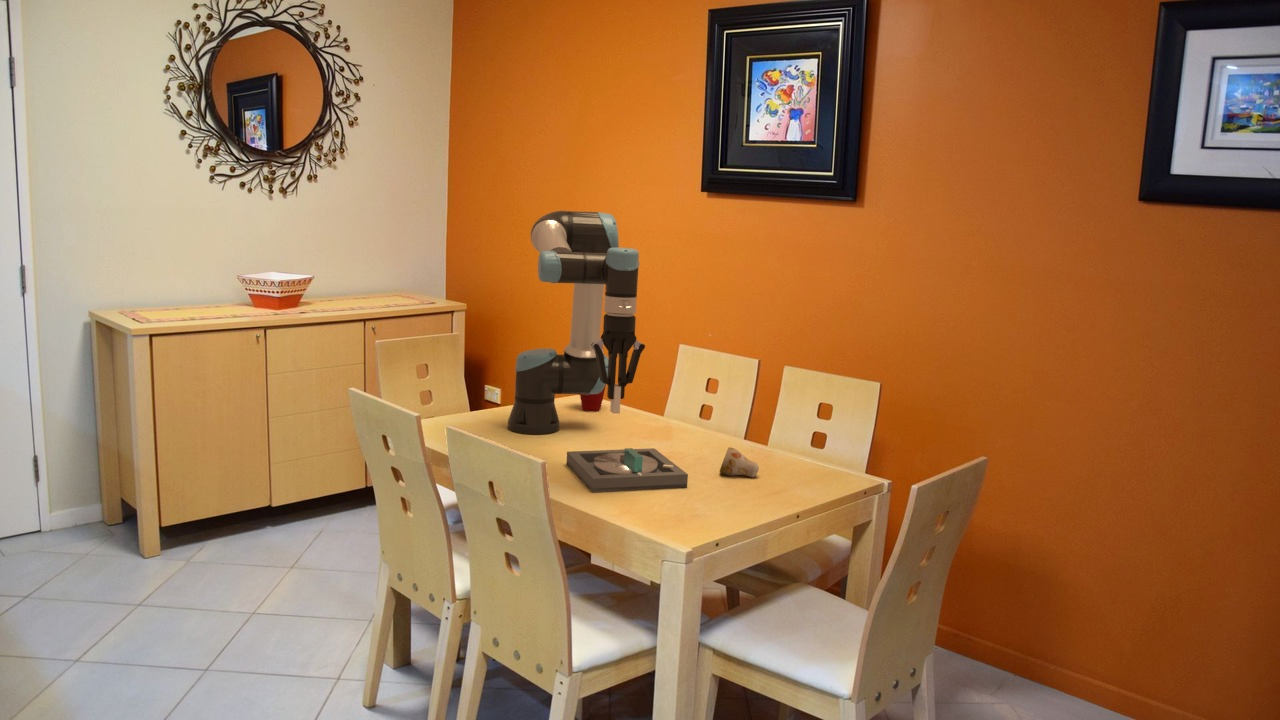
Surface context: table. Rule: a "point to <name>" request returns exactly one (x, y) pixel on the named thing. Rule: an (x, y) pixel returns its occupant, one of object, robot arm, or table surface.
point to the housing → (663, 479)
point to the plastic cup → (592, 401)
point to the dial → (624, 463)
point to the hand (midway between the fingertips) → (614, 412)
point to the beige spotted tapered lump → (738, 464)
